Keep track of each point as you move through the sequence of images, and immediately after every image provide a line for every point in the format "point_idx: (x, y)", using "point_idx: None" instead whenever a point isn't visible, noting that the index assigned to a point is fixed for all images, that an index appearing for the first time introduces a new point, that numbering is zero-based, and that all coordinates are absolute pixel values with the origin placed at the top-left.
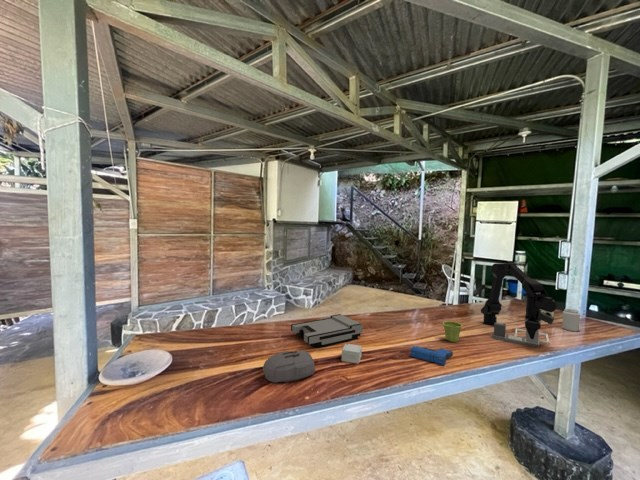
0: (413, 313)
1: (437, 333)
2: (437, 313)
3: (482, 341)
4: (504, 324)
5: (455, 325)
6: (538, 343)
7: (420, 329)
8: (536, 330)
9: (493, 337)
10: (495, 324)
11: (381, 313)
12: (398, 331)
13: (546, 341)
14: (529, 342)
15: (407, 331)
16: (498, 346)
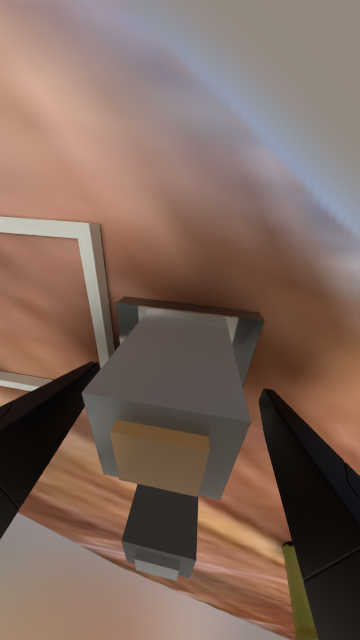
0: (105, 551)
1: (252, 555)
2: (52, 521)
3: (274, 498)
4: (147, 549)
5: (302, 637)
6: (214, 319)
7: (238, 568)
8: (160, 422)
9: None
10: (189, 575)
11: (160, 581)
12: (282, 592)
13: (92, 245)
14: None
15: (272, 584)
16: None
